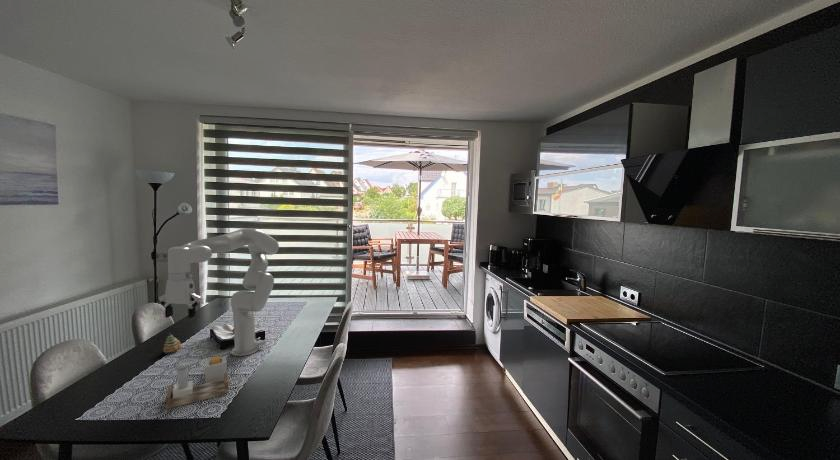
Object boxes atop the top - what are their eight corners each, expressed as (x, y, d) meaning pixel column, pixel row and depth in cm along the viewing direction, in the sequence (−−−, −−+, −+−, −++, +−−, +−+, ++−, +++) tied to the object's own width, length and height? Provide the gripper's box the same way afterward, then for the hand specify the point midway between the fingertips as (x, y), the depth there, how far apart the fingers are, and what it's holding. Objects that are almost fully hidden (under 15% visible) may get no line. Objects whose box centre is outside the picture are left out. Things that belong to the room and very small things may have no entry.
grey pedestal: (193, 385, 133) (191, 359, 132) (192, 393, 127) (190, 366, 126) (174, 389, 129) (173, 362, 128) (173, 398, 123) (171, 370, 123)
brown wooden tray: (227, 382, 140) (227, 372, 140) (228, 392, 132) (228, 382, 132) (169, 397, 129) (168, 386, 129) (166, 409, 122) (165, 397, 121)
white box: (226, 373, 148) (226, 356, 147) (227, 380, 142) (226, 362, 141) (205, 378, 143) (204, 360, 143) (205, 385, 137) (204, 367, 137)
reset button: (220, 361, 144) (220, 355, 144) (220, 365, 141) (220, 358, 141) (210, 364, 143) (210, 357, 142) (210, 367, 140) (210, 361, 139)
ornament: (168, 348, 172) (167, 330, 171) (182, 346, 174) (181, 328, 173) (162, 355, 165) (160, 336, 164) (176, 353, 167) (175, 334, 166)
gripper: (206, 275, 140) (206, 314, 141) (166, 274, 140) (167, 313, 141) (193, 278, 132) (194, 320, 133) (151, 277, 133) (152, 319, 134)
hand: (180, 316), depth 137 cm, fingers open, 9 cm apart
